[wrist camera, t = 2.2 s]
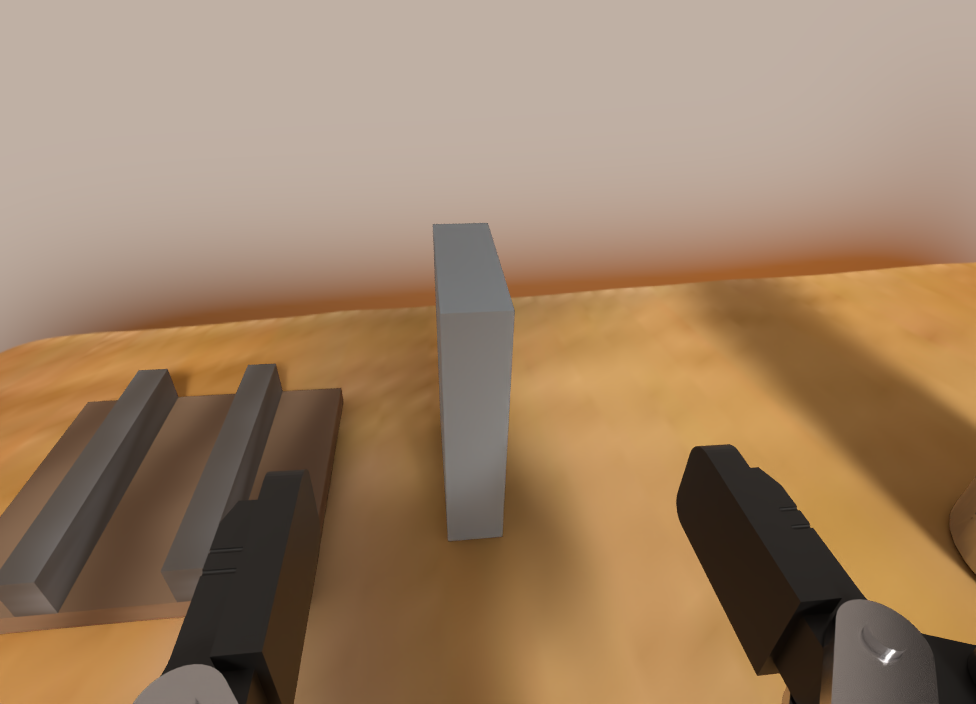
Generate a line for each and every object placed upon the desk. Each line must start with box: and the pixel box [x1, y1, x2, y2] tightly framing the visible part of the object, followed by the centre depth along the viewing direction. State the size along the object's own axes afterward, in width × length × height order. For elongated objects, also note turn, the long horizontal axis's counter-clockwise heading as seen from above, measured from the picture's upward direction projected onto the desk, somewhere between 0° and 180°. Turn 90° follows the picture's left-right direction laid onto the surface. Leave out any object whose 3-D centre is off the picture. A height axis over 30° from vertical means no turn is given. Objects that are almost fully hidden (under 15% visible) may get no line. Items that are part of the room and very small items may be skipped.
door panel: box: [433, 223, 515, 541], centre depth 25 cm, size 2×8×12 cm, turn 6°
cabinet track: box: [0, 364, 343, 634], centre depth 26 cm, size 14×13×3 cm
